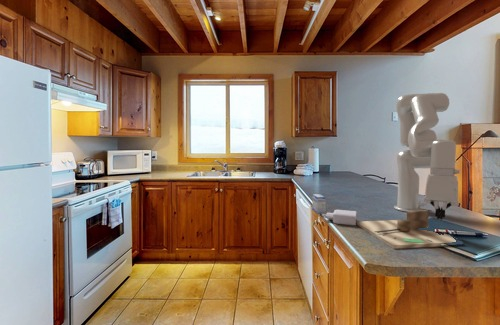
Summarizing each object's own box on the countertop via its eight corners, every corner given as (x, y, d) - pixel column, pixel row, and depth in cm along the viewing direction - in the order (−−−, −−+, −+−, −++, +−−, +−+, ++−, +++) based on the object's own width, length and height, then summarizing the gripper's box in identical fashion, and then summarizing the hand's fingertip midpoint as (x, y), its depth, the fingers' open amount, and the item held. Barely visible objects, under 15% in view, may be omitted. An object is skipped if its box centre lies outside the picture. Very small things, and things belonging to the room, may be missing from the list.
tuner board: (411, 222, 115) (411, 218, 115) (463, 245, 90) (463, 241, 89) (355, 224, 113) (355, 221, 113) (393, 248, 87) (393, 244, 87)
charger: (323, 217, 126) (356, 220, 119) (320, 222, 117) (355, 226, 111) (323, 207, 125) (356, 210, 119) (320, 212, 117) (355, 215, 111)
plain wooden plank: (421, 225, 106) (422, 208, 106) (431, 228, 102) (432, 211, 101) (373, 231, 100) (373, 213, 100) (381, 235, 96) (381, 216, 95)
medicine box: (312, 209, 138) (312, 194, 137) (320, 209, 138) (320, 193, 138) (317, 214, 130) (317, 197, 130) (325, 213, 131) (325, 197, 130)
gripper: (467, 172, 96) (464, 220, 98) (420, 170, 106) (418, 213, 108) (467, 174, 91) (464, 225, 92) (417, 171, 100) (415, 217, 102)
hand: (439, 218), depth 100 cm, fingers closed
